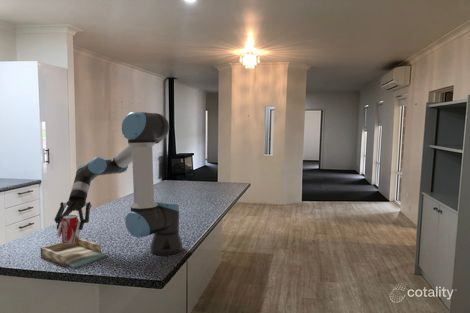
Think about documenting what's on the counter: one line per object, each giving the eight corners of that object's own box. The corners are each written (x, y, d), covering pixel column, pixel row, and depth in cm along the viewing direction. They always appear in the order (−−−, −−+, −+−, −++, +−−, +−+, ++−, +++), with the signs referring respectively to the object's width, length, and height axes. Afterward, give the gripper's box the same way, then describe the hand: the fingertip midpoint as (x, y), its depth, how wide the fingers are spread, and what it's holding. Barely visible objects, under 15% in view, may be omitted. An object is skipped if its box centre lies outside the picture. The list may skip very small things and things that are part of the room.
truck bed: (109, 256, 156) (108, 247, 156) (71, 268, 141) (71, 259, 141) (78, 245, 170) (78, 237, 169) (40, 256, 155) (40, 247, 154)
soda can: (58, 243, 155) (57, 217, 154) (70, 239, 162) (70, 213, 161) (70, 245, 152) (69, 219, 152) (82, 241, 159) (82, 215, 158)
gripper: (102, 197, 172) (92, 239, 157) (59, 197, 170) (46, 240, 155) (98, 188, 166) (89, 231, 151) (55, 188, 164) (40, 232, 149)
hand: (67, 236), depth 153 cm, fingers closed on soda can, 7 cm apart
